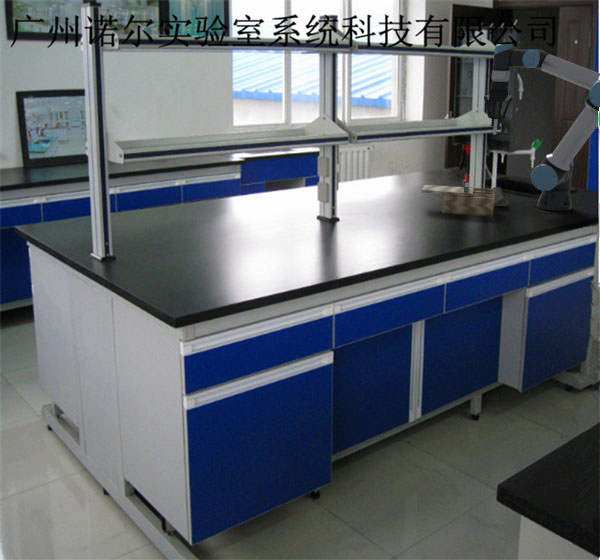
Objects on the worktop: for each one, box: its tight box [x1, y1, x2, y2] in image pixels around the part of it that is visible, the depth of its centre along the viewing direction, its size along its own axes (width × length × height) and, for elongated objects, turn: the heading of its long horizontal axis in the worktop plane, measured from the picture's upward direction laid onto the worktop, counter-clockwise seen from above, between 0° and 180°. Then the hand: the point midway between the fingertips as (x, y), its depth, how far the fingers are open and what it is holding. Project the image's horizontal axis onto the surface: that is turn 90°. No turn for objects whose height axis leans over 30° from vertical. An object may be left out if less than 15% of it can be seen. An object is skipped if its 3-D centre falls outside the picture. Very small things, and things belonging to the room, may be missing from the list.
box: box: [441, 185, 495, 218], centre depth 319 cm, size 22×14×10 cm, turn 74°
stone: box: [490, 186, 510, 207], centre depth 331 cm, size 10×10×10 cm
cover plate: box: [421, 182, 475, 195], centre depth 320 cm, size 22×12×4 cm, turn 74°
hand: (494, 134), depth 326 cm, fingers closed
